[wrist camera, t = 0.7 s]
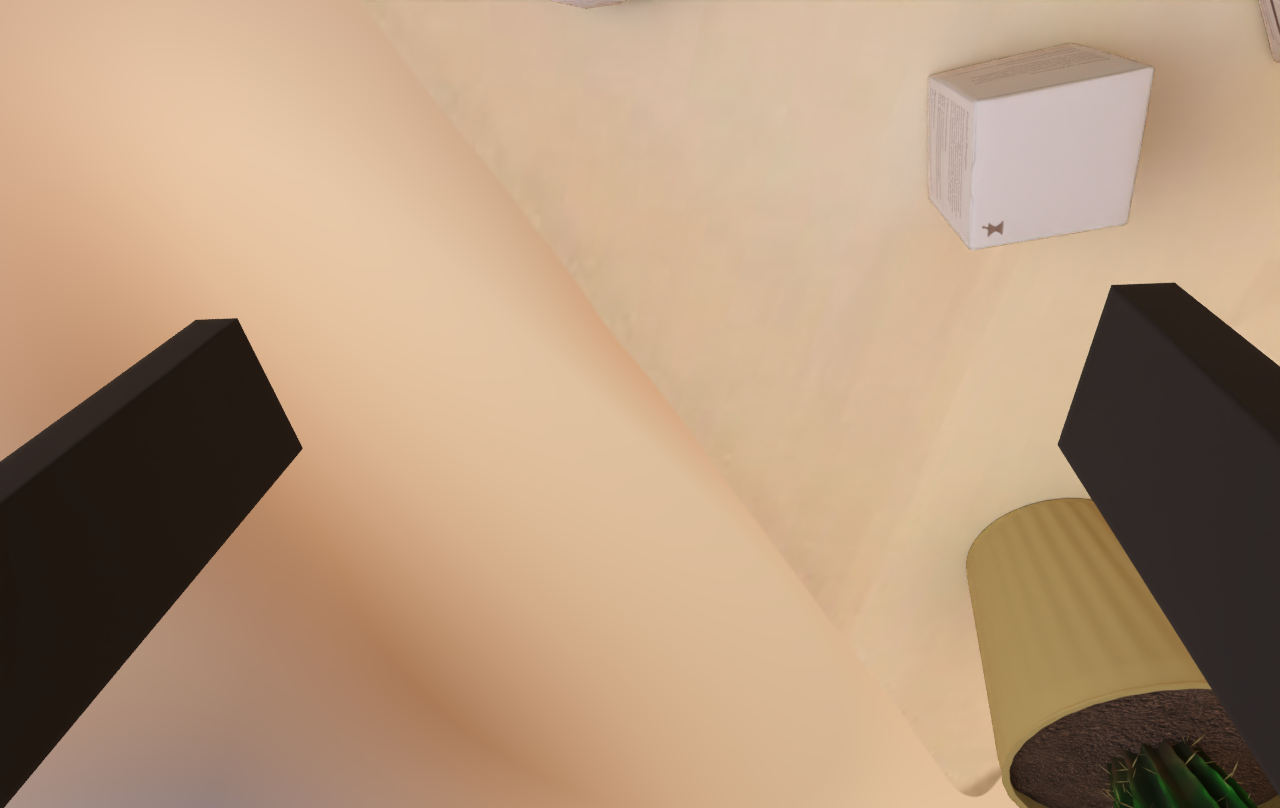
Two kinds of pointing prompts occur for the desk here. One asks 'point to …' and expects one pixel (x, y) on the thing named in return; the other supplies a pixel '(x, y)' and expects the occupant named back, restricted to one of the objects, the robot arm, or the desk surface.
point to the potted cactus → (1095, 675)
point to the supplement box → (1272, 24)
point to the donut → (589, 3)
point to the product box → (1036, 144)
